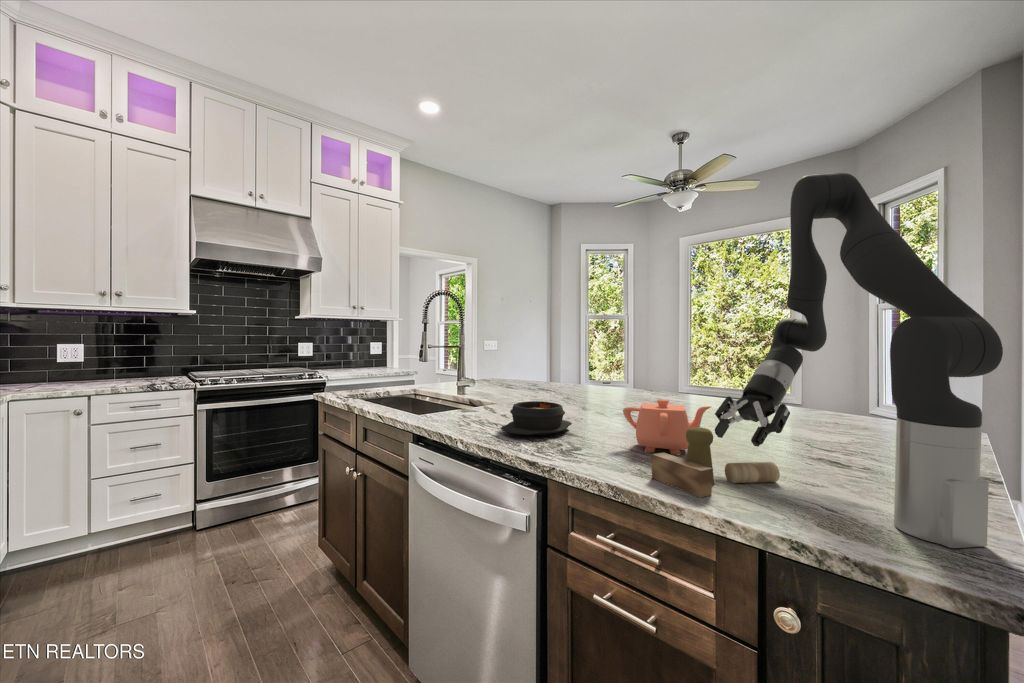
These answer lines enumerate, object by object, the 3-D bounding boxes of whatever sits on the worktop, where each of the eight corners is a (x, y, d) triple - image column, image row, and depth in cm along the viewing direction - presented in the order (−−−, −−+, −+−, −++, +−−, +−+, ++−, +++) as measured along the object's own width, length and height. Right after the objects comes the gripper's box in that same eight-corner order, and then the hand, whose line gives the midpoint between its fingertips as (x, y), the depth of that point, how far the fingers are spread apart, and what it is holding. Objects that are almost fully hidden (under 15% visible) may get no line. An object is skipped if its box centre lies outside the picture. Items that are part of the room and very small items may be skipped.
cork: (718, 487, 85) (719, 432, 85) (685, 484, 86) (686, 430, 86) (710, 477, 91) (711, 425, 90) (680, 475, 92) (681, 424, 92)
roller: (766, 458, 91) (780, 466, 87) (764, 477, 91) (778, 485, 87) (725, 460, 90) (737, 467, 86) (724, 478, 90) (736, 486, 86)
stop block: (712, 494, 81) (713, 468, 81) (700, 497, 79) (701, 470, 79) (663, 475, 91) (663, 452, 91) (651, 478, 90) (652, 454, 90)
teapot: (619, 446, 116) (620, 397, 116) (659, 439, 124) (660, 394, 124) (670, 462, 102) (671, 407, 101) (711, 453, 110) (712, 402, 109)
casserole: (540, 421, 147) (541, 397, 147) (585, 430, 134) (586, 404, 134) (486, 433, 129) (487, 405, 129) (532, 444, 116) (533, 413, 116)
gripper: (732, 370, 103) (699, 422, 98) (794, 375, 90) (760, 435, 85) (746, 391, 105) (714, 443, 100) (808, 399, 93) (775, 458, 87)
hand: (735, 439), depth 92 cm, fingers open, 8 cm apart
